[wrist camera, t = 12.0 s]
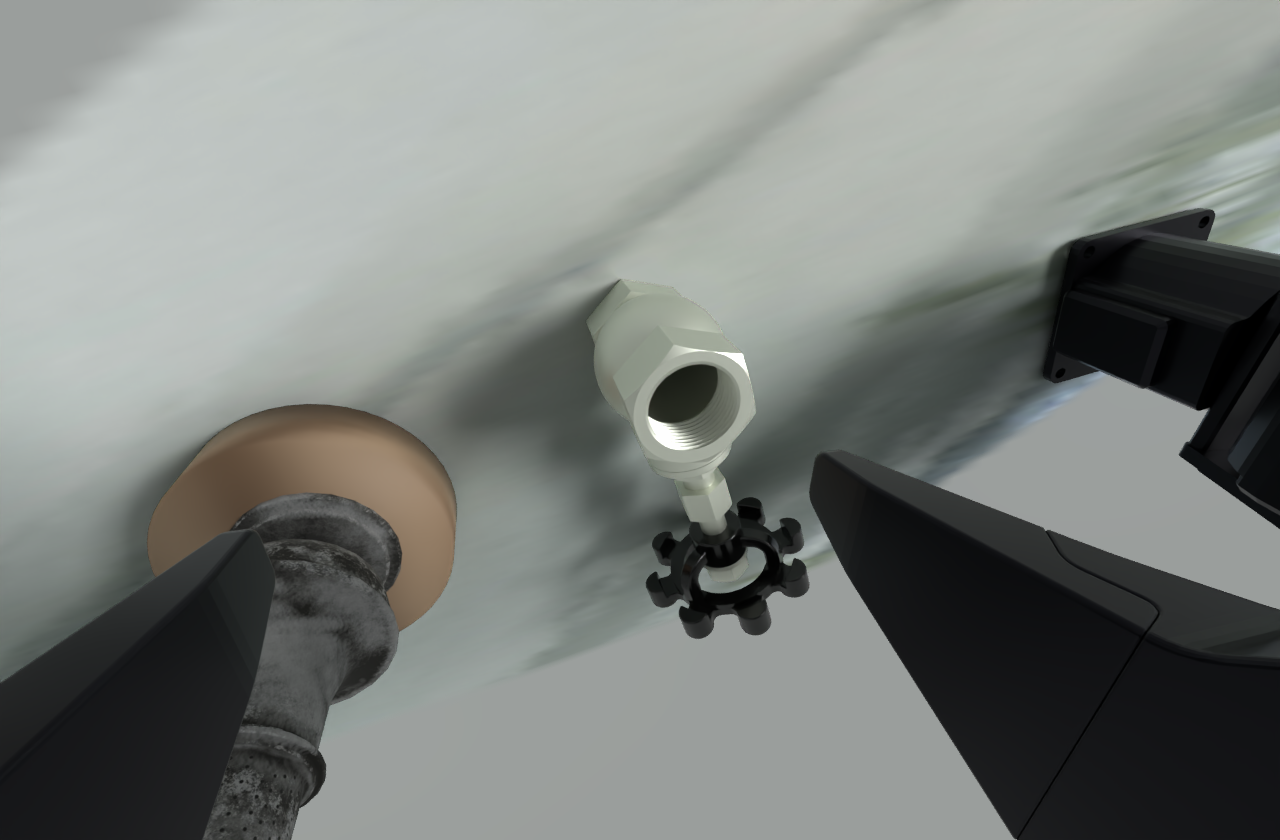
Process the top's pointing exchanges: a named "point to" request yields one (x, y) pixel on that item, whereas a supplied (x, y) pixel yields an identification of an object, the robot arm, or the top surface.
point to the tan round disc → (318, 489)
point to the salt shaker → (307, 653)
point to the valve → (692, 449)
